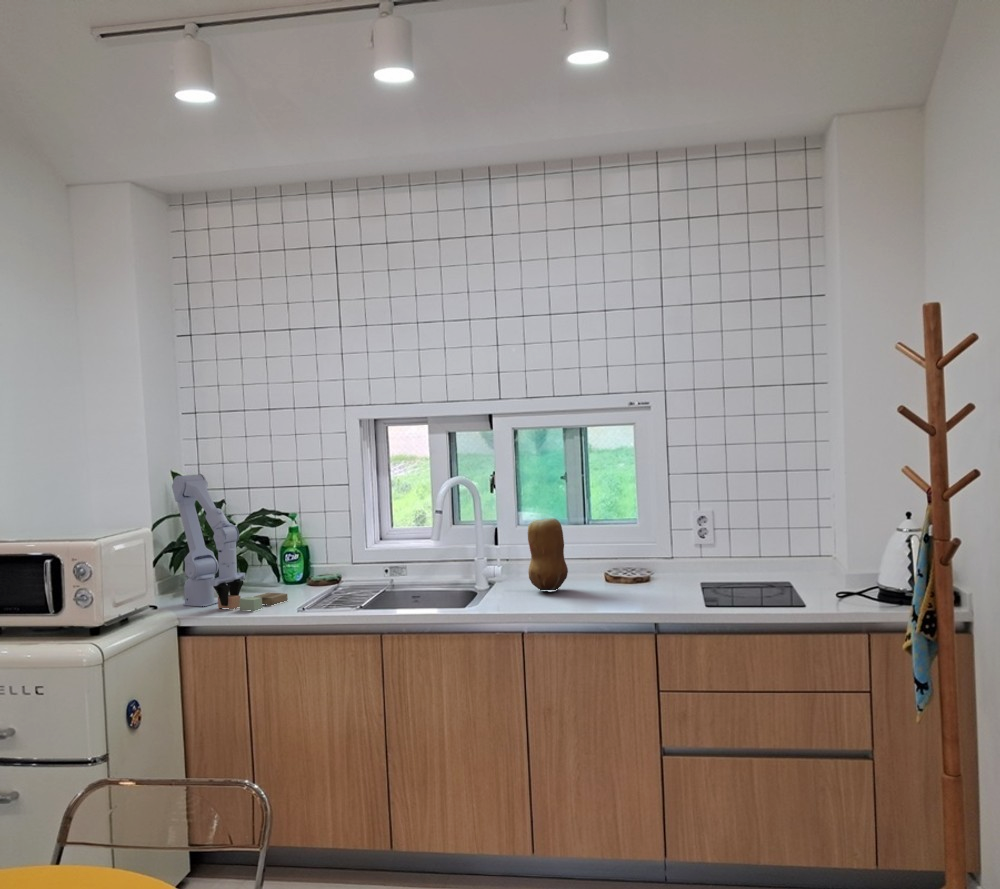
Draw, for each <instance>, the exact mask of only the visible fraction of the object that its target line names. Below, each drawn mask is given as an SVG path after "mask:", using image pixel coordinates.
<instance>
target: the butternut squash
mask: <svg viewBox="0 0 1000 889" xmlns="http://www.w3.org/2000/svg"><path fill="white" fill-rule="evenodd" d="M564 541H565V540H564V531H563V527H562V525H561V523H560V521H559V520H558V519H556V518H544V519H535V520H533V521H531V522H530V523H529V524H528V526H527V542H528V547H529V551H530V556H531V557H530V562H529V567H528V571H527V572H528V579H529V581H530V582H531V584H532V585H533V586H534V587H535V588H537V589H538V590H539V589H540V590H539V591H541V590H556V589H558V588H559V587H560V588H561V586H562V585H563V583H564V582H565V581H566V579H567V578H568V572H569V568H568V564H567V563H566V560H565V554H564V552H565V542H564ZM560 588H559V589H560ZM559 589H558V590H559Z"/></svg>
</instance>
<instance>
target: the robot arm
mask: <svg viewBox="0 0 1000 889" xmlns="http://www.w3.org/2000/svg"><path fill="white" fill-rule="evenodd" d="M171 489H172V493H173V496H174V500H175V502H176V503H177V507H178V511H179V514H180V519H181V522H182V526H183V530H184V535H185V538H186V542H187V547H188V549H189V552H188V553H187V555H186V556H185V557H184V558H183V560H184V572H185V575H186V576H187V577H188V578H187V579H186V580H185V583H184V586H183V592H184V603H182V604H183V606H190V607H191V606H192V607H202V606H203V607H204V606H205V607H208V606H212V605H215V603H216V604H218V600H215V592H216V594H217V597H219V599H220V602H221V605H222V606H228V595H236V596H240V592H241V589H242V588H243V585H244V579H246V577H247V576H246V572H238V568H237V567H238V564H237V562H238V561H237V543H238V541H239V539H240V532H239V529H238V526H236V525H234V524H233V523H232V522H231V523H230V521H229V520H228V519H227V517H226V516H225V513H224V512H223V510H222V509H221V508H217V506H216V505H215V502H214V500H213V499H212V497H211V494H210V493H209V491H208V481H207V479H206V477H205V476H204V474H202V473H196V474H187V475H176V476H175V477H174V478H173V481H172V484H171ZM196 501H197V502H198V503H199V505H200V506H201V508H202V509H203V511H205V520H206V521H207V523H208V525H209V526H210V529H211V530H212V532H213V536H212V537H213V540H214V543H215V548H216V550H217V556H218V557H217V558H218V560H217V558H216V556H215V553H214V551H212V550H211V549H209V548H207V547H206V543H205V540H204V535H203V532H202V529H201V528H202V527H201V523H200V521H199V520H200V519H199V516H198V513H197V508H196V505H195V504H196ZM216 574H218V577H216Z"/></svg>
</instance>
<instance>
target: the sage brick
mask: <svg viewBox="0 0 1000 889" xmlns="http://www.w3.org/2000/svg"><path fill="white" fill-rule="evenodd" d="M240 598H241V597H240ZM239 606H240V608H239V611H240V610H251V611H255V610H258V609H261V608H262V609H263V605H262V598H259V597H254V596H245V597H243V598H241V599H239Z"/></svg>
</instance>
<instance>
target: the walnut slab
mask: <svg viewBox="0 0 1000 889" xmlns="http://www.w3.org/2000/svg"><path fill="white" fill-rule="evenodd" d="M253 597H259V598H262V604H267V605H274V604H277V603H280V602H284V601H287V600H288V593H284V592H282V593H281V592H280V593H279V592H265V593H262V594H258V595H255V596H253ZM287 602H288V601H287ZM284 603H285V602H284ZM274 606H275V605H274Z"/></svg>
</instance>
